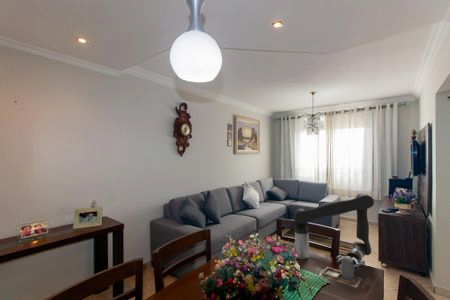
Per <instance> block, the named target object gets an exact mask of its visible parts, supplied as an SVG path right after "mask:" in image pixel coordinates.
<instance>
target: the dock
mask: <svg viewBox="0 0 450 300" xmlns="http://www.w3.org/2000/svg"><path fill="white" fill-rule="evenodd" d="M318 276H320V277H324V278H325V279H326V278H327V279H330V280H333V281H335V282H339V283H342V284H345V285H346V286H350V287H354V288H358V286H359V285H360V283H361V282H362V280H363V278H362V277H360V276H359V275H355V274H354V279H353V281H352V282H351V281H348V280H345V279H342V270H339V269H335V268H332V267H328V266H326V267H325V268H324V270H322V271H321V272H320V273H319V275H318Z"/></svg>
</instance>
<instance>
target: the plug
mask: <svg viewBox="0 0 450 300" xmlns="http://www.w3.org/2000/svg"><path fill="white" fill-rule="evenodd" d="M342 257H343V258H342V259H341V265H340V266H341V271H342V279H345V280H348V281H351V282H352V281H353V279H354V275H355V270H354V261H353V258H351V257H348V256H346V255H344V256H342Z"/></svg>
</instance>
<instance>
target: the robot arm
mask: <svg viewBox="0 0 450 300" xmlns="http://www.w3.org/2000/svg"><path fill="white" fill-rule="evenodd" d="M374 204H375V200H374V198H373V197H372V196H370V195H369V194H366V193H362V192H361V193H358V194H357V195H356V196H355V198H351V199H345V200H333V201H330V202H325V203H323V204H321V205H319V206H317V207H315V208H311V209H306V210H305V209H304V208H301V207H300V208H297V209H295V211H294V213H293V215H294V217H293V218H294V219H293V221H294V224H293V225H294V242H293V246H294V247H293V249H294V248H295V249H296V251H297V253H298V254H299V257H298V258H297V259H299V260H308V259H309V258H310V237H309V225H308V224H309V222H312V221H315V220H319V219H326V218H330V217H334V216H339V215H343V214H347V213H349V212H353V211H356V231H355V232H356V238H357V239H359V240H360V241H354V242H353V244H352V249H350V250H349V251H348V253H346V255H345V256H348V257H351V258H353V261H354V271H358V270H359V269H361V270H364V268H365V266H366V261H365V260H363V258H364V257H365V256H370V255H371V254H372V247H371V243H370V237H369V236H370V225H369V219H368V209H370V208H372V207H373V206H374ZM361 241H362V242H361ZM343 257H344V256H343V255H342V254H339V255H337V256H336V261H335V262H336V263H337V266H341V259H342V258H343Z"/></svg>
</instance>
